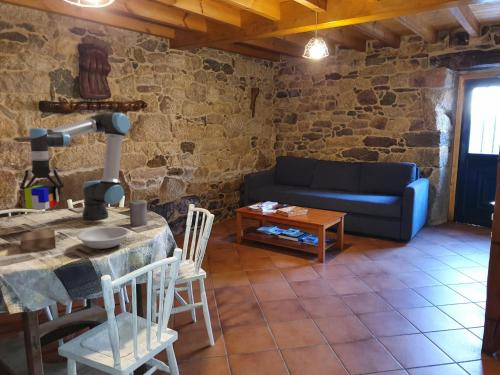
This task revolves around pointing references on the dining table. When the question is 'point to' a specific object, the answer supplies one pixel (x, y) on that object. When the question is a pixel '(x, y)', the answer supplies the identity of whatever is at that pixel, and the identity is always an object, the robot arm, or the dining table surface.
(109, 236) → the soup bowl
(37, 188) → the puzzle toy
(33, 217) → the dining table surface
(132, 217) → the pillar candle
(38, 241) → the walnut base block
